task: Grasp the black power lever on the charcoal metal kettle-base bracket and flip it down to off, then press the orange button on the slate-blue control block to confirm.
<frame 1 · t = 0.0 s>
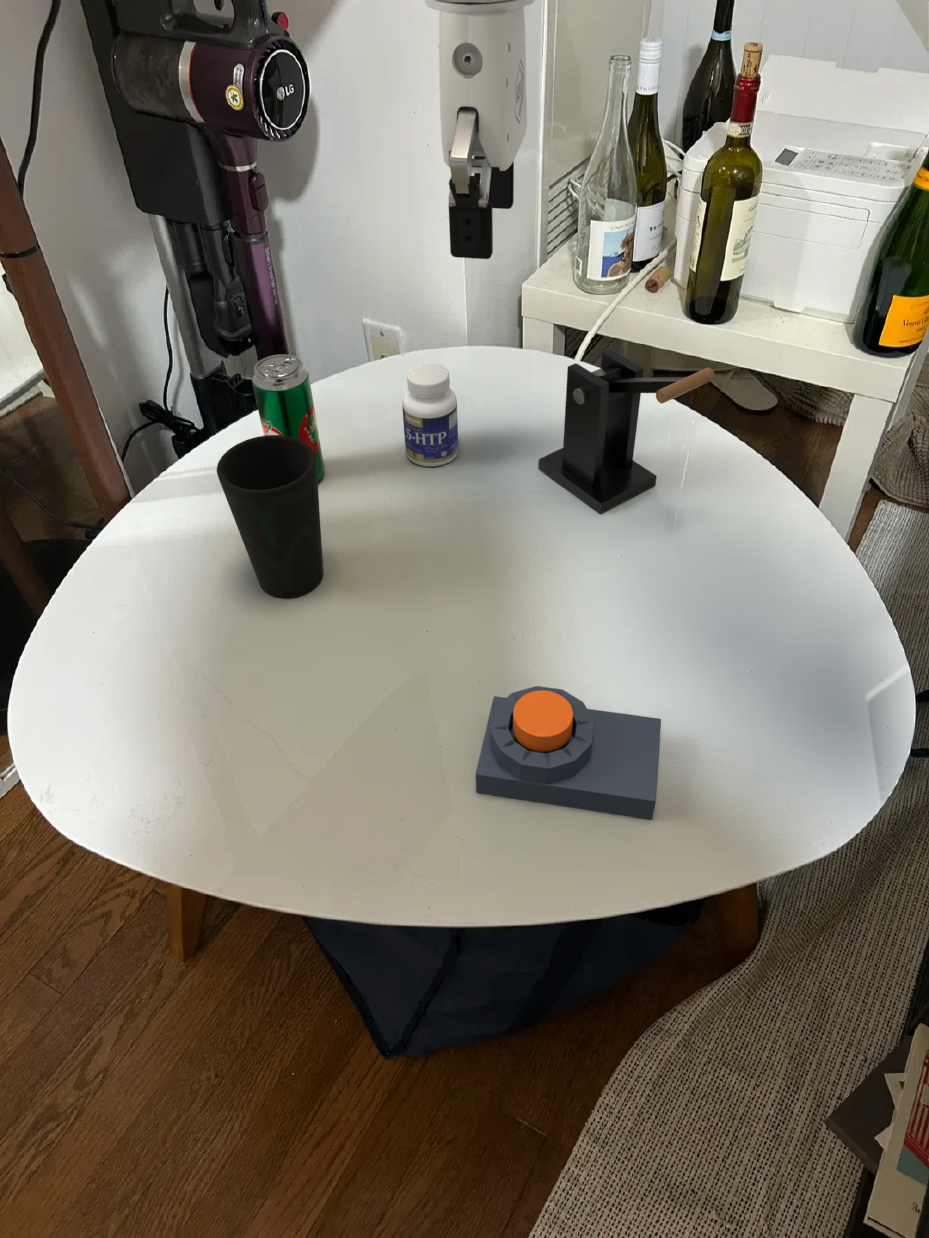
hand: (483, 230, 74), 23 cm above the table, tool pointing down, fingers open, 9 cm apart
pill bottle: (432, 454, 92), on the table
confirm button: (542, 720, 62), point 4 cm above the table, slide at 0.1 cm
cup: (291, 578, 80), on the table
power lever: (639, 385, 78), point 12 cm above the table, hinge at 25.0°
soda can: (299, 478, 90), on the table
switch bracket: (596, 477, 89), on the table
control block: (568, 764, 65), on the table
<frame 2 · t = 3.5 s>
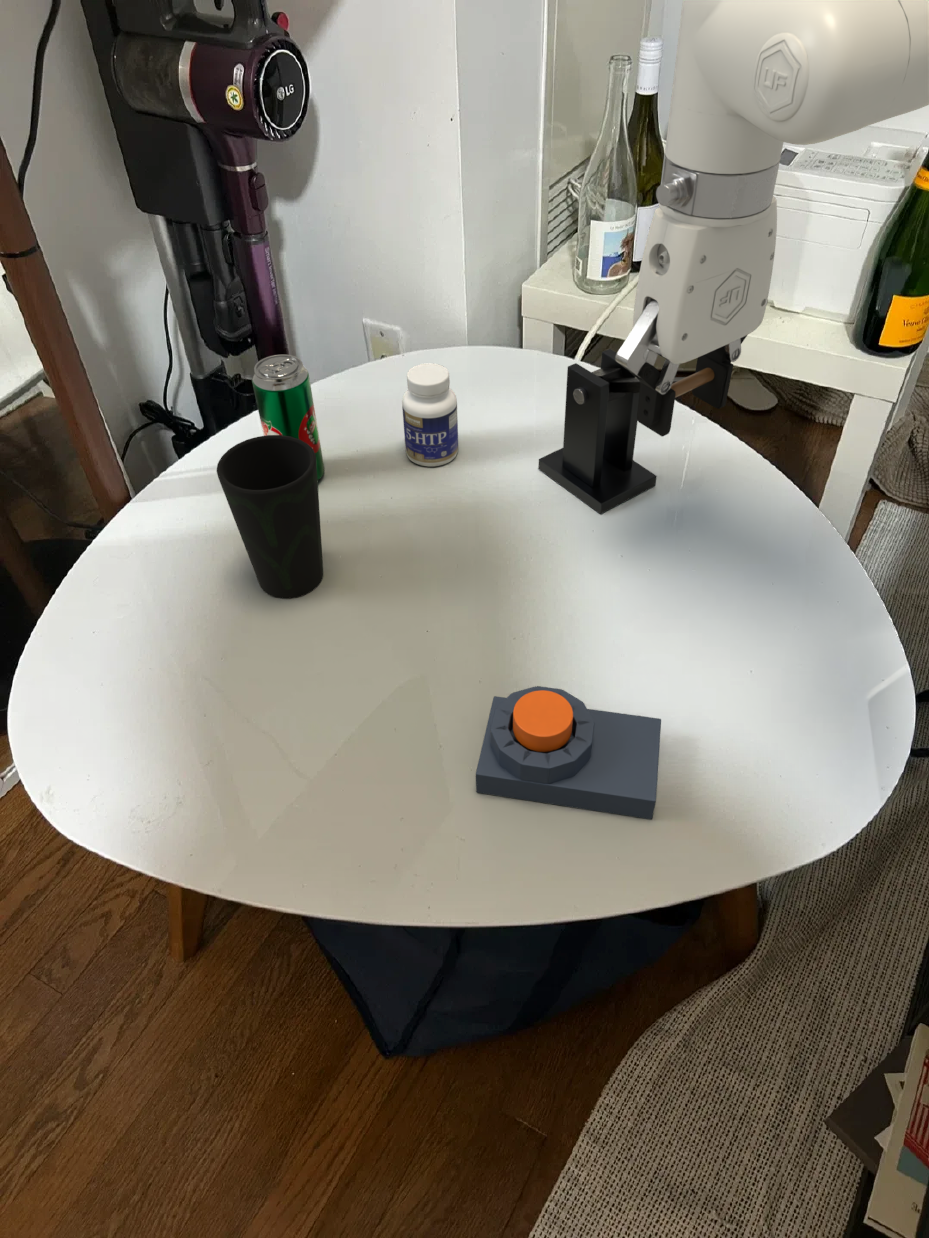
hand: (681, 412, 75), 12 cm above the table, tool pointing down, fingers closed on power lever, 5 cm apart
power lever: (639, 385, 78), point 12 cm above the table, hinge at 25.0°, touching gripper
everything else where it was.
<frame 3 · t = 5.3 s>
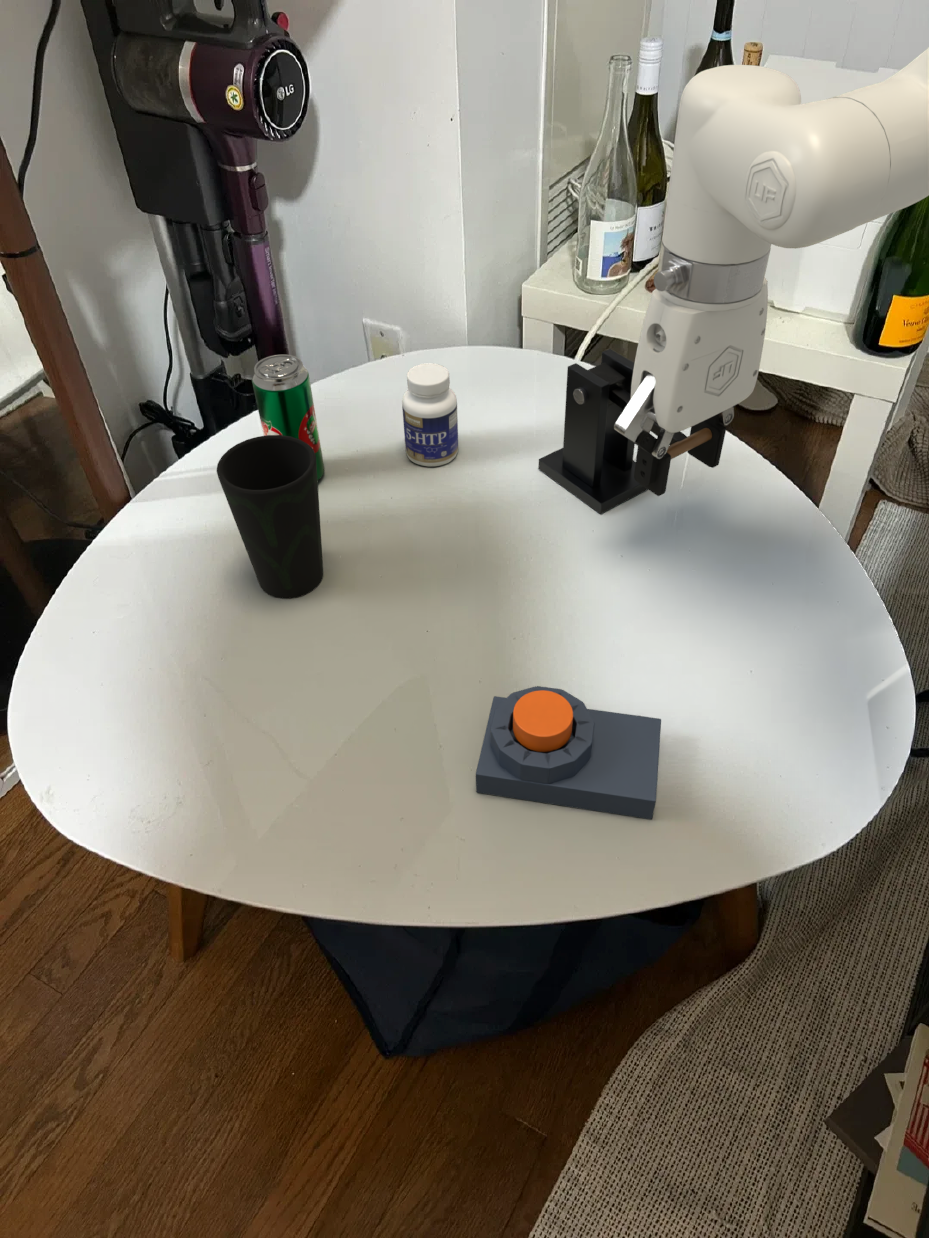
hand: (676, 471, 79), 6 cm above the table, tool pointing down, fingers closed on power lever, 5 cm apart
power lever: (639, 411, 79), point 10 cm above the table, hinge at -5.8°, touching gripper
everything else where it was.
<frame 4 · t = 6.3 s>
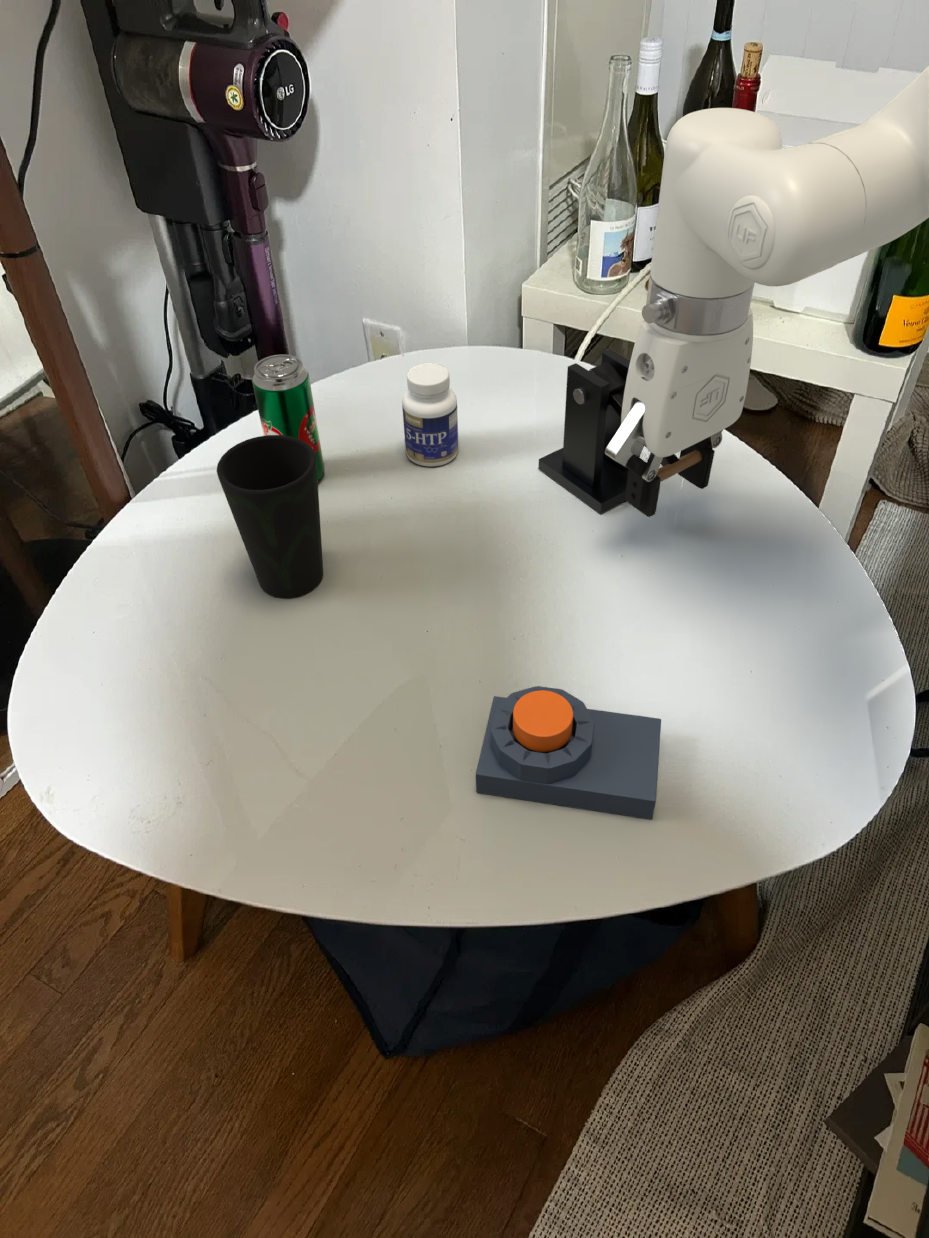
hand: (666, 492, 81), 3 cm above the table, tool pointing down, fingers open, 5 cm apart
power lever: (635, 422, 80), point 8 cm above the table, hinge at -21.0°
everything else where it was.
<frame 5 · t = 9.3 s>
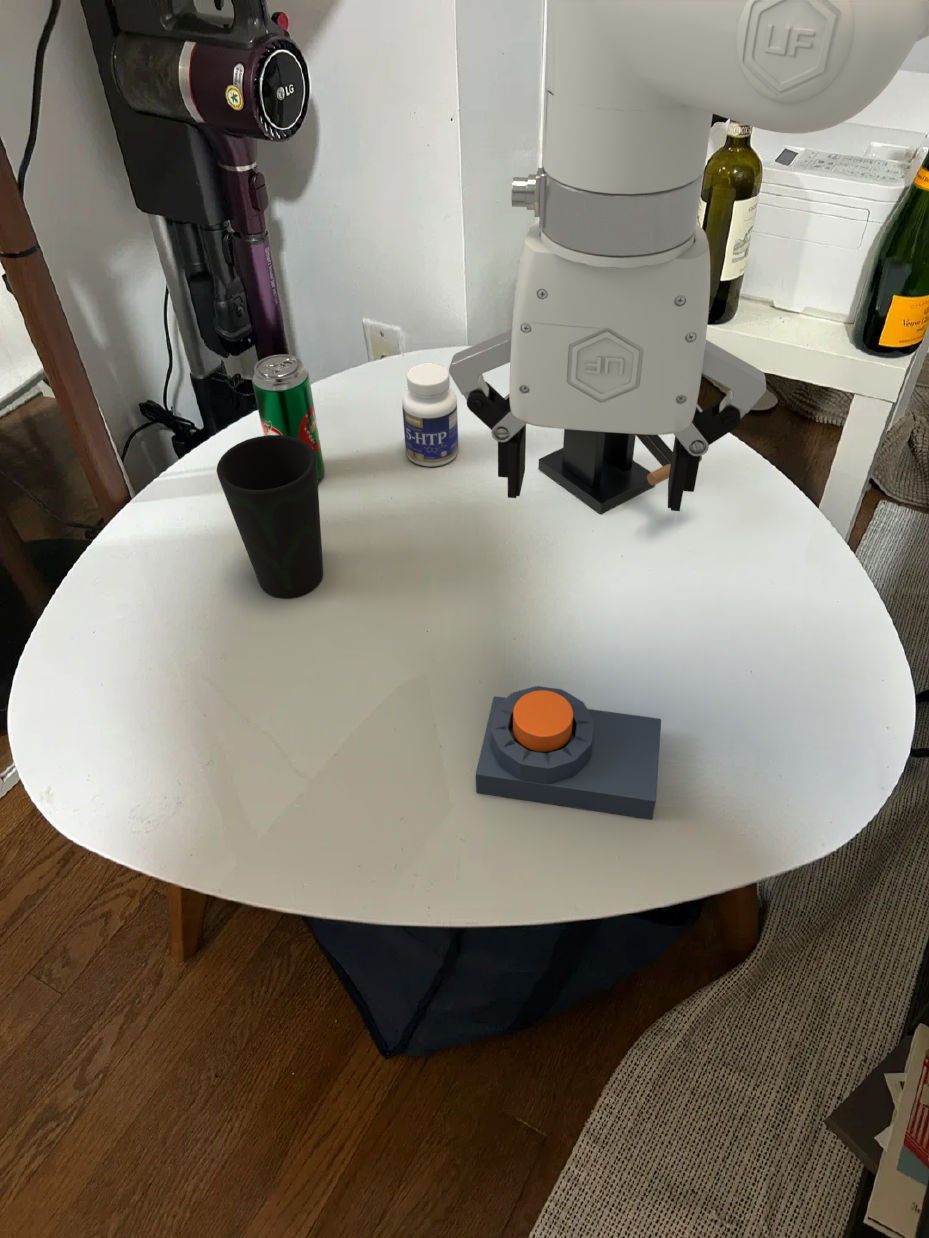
hand: (594, 490, 57), 19 cm above the table, tool pointing down, fingers open, 9 cm apart
nothing on the table moved.
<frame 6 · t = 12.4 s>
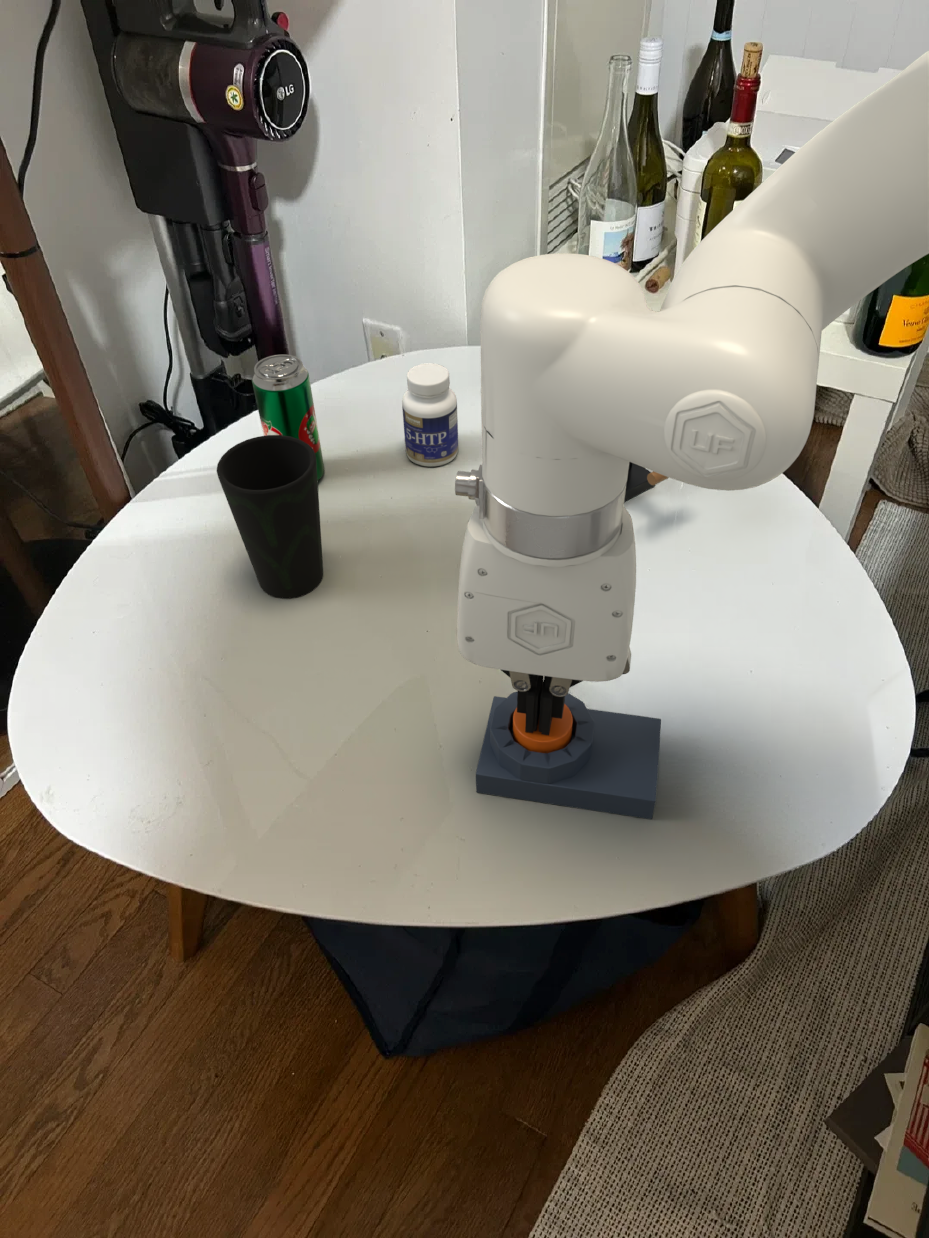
hand: (540, 717, 62), 5 cm above the table, tool pointing down, fingers closed
confirm button: (542, 726, 63), point 4 cm above the table, slide at -0.5 cm, touching gripper
everything else where it was.
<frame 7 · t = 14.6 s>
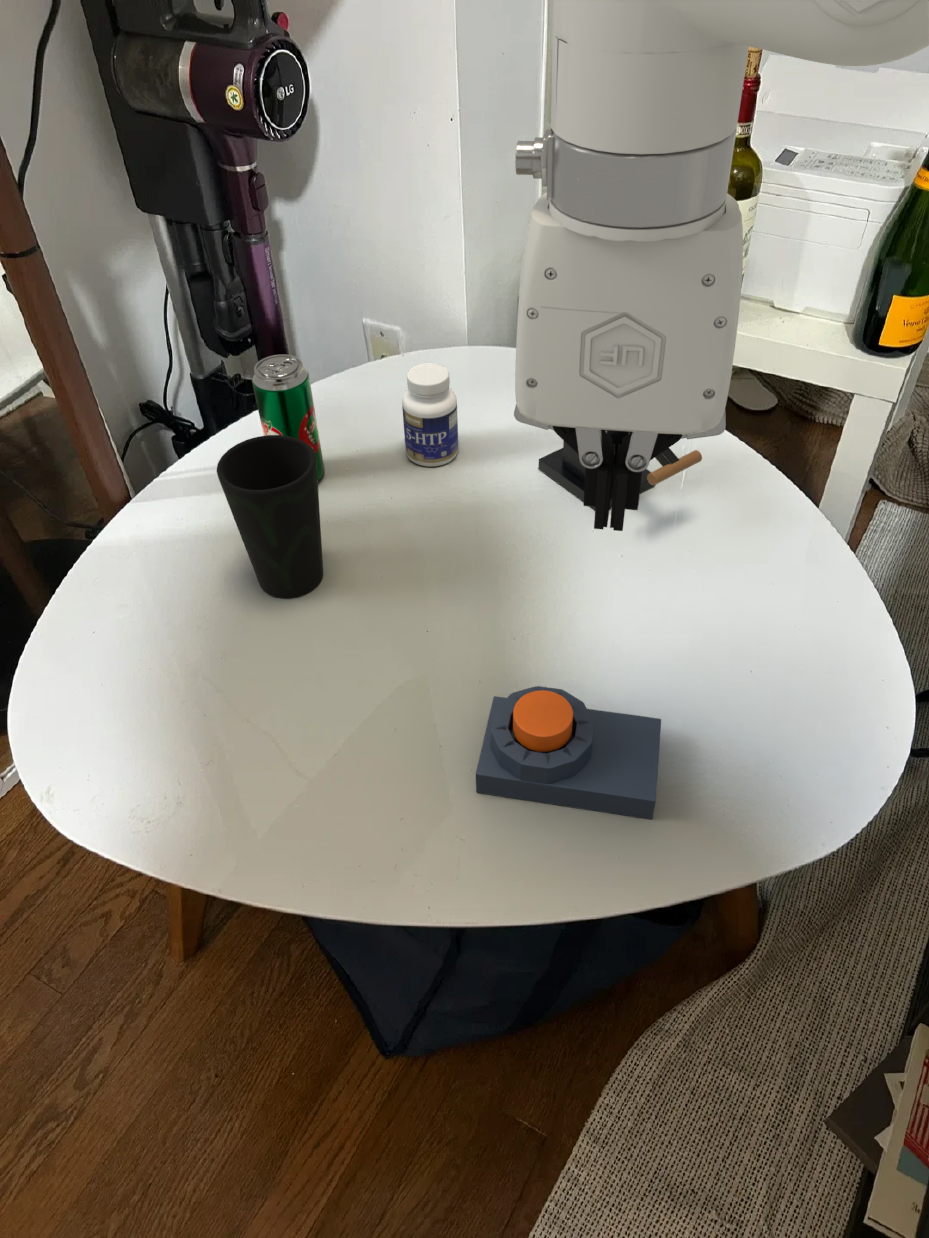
hand: (610, 514, 52), 21 cm above the table, tool pointing down, fingers closed
confirm button: (542, 720, 62), point 4 cm above the table, slide at 0.1 cm
everything else where it was.
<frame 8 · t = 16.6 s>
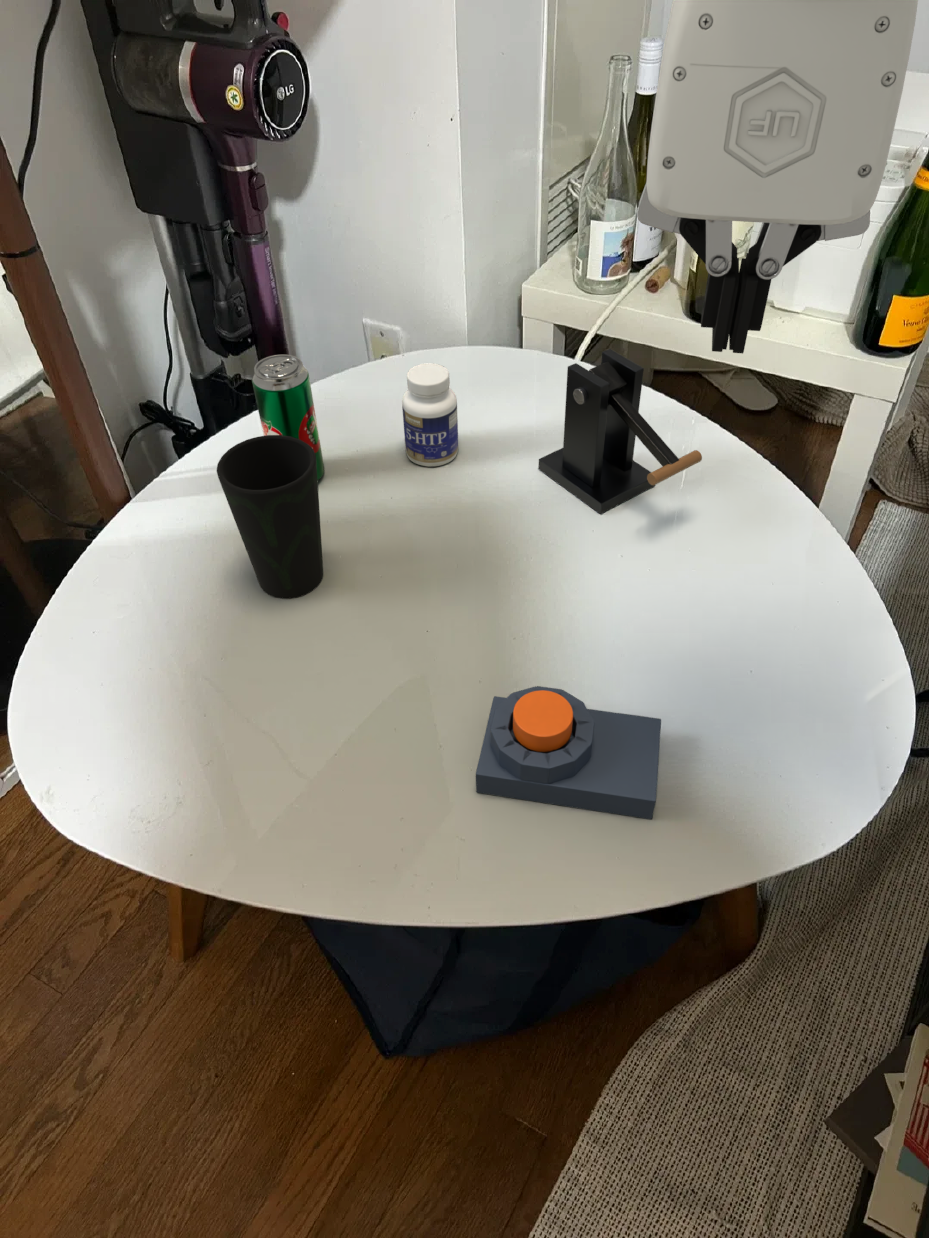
hand: (727, 339, 49), 29 cm above the table, tool pointing down, fingers closed
nothing on the table moved.
at the end: power lever at -21° (first picture: +25°); confirm button pushed in 1.1 cm at the most during the clip, back to where it started at the end; confirm button slide at 0.1 cm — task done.
